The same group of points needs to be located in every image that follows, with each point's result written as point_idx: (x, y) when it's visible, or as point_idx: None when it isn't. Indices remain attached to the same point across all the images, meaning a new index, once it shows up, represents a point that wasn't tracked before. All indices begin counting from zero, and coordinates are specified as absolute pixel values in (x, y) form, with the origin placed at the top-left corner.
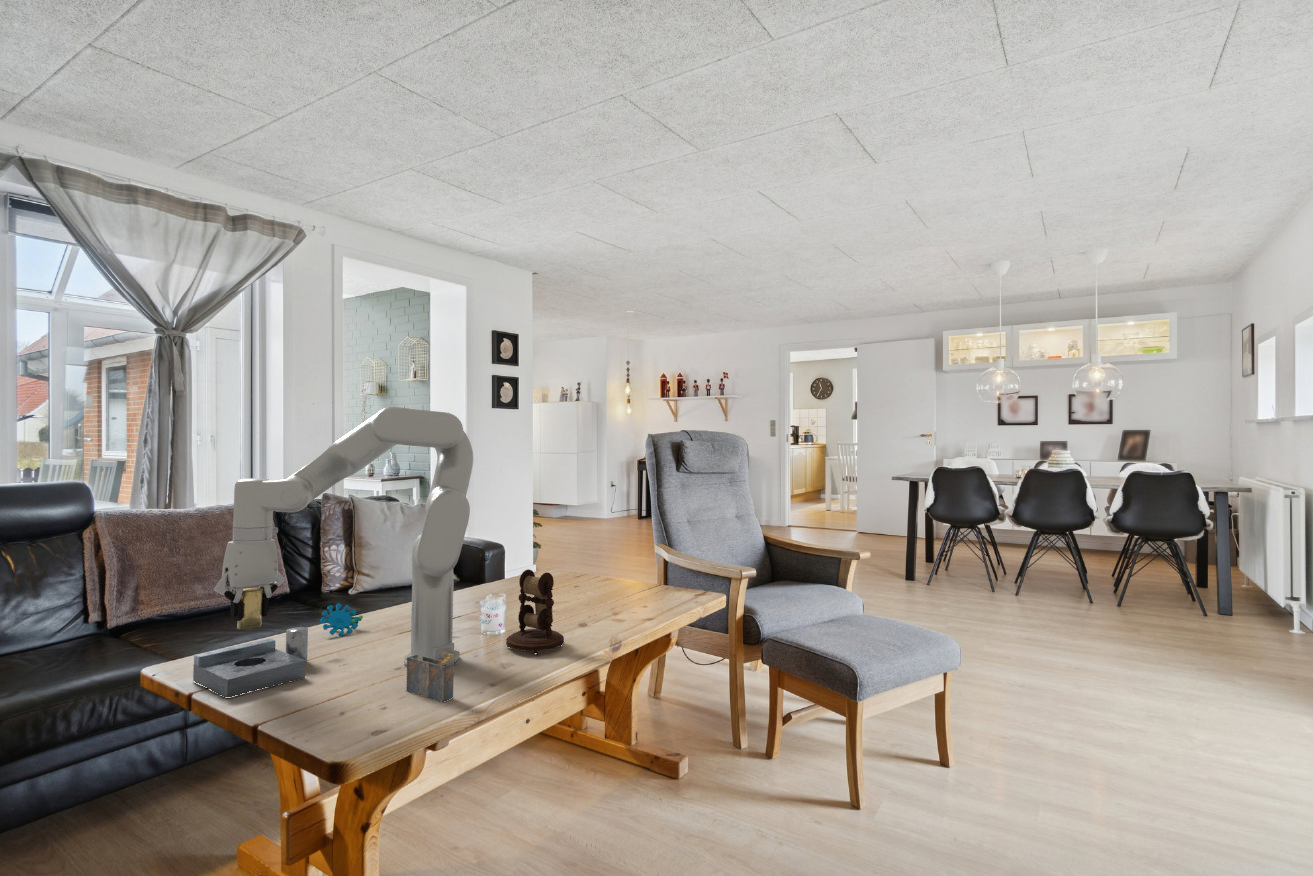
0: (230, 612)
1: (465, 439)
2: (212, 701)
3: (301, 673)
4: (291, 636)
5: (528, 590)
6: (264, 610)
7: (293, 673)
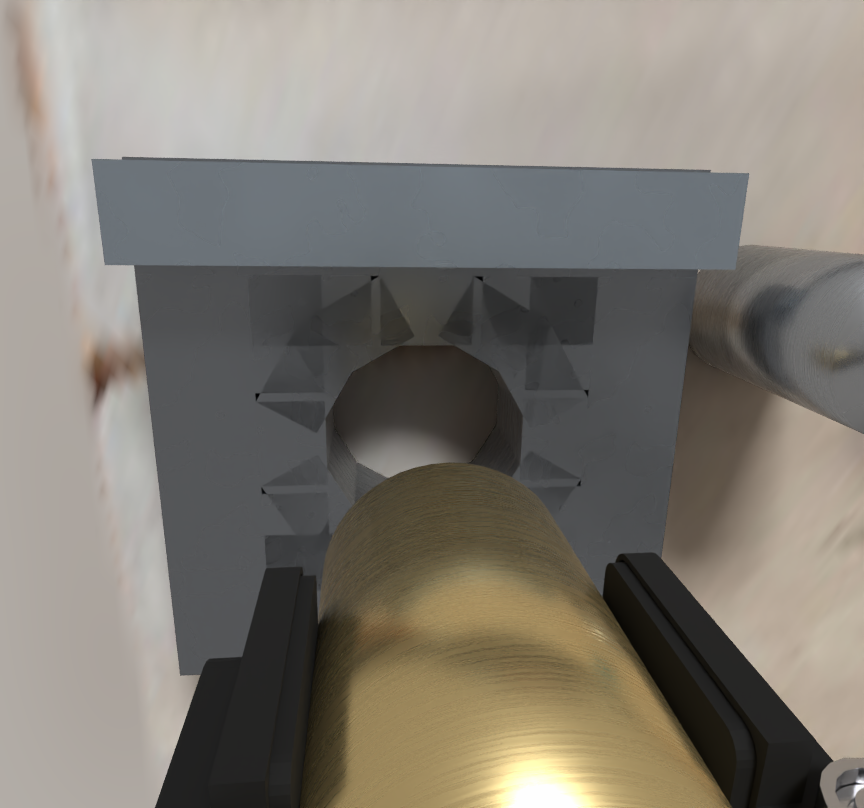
0: (198, 686)
1: None
2: (147, 578)
3: None
4: (812, 394)
5: None
6: None
7: None
